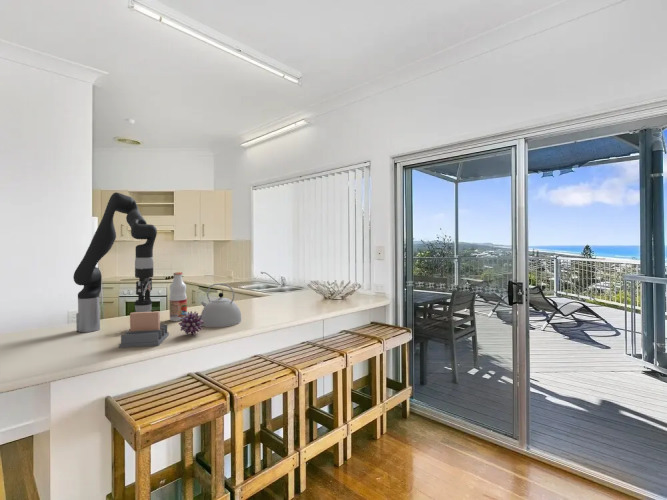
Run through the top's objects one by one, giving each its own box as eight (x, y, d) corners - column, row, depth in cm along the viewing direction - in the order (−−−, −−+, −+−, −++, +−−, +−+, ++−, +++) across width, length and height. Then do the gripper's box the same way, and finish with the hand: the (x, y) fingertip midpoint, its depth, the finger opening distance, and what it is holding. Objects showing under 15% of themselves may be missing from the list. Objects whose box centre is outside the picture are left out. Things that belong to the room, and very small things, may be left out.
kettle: (187, 325, 189) (187, 285, 188) (212, 316, 210) (212, 280, 210) (227, 328, 182) (226, 286, 181) (248, 319, 204) (248, 281, 203)
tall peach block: (130, 339, 156) (129, 313, 156) (132, 337, 159) (131, 312, 158) (158, 337, 159) (158, 312, 159) (160, 336, 161) (159, 311, 161)
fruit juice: (170, 318, 205) (169, 272, 204) (187, 317, 208) (186, 271, 207) (168, 321, 196) (168, 273, 195) (186, 320, 199) (186, 273, 198)
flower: (190, 330, 177) (189, 308, 177) (209, 332, 173) (209, 309, 173) (173, 336, 166) (173, 312, 166) (193, 338, 162) (193, 314, 162)
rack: (119, 347, 149) (119, 335, 149) (133, 336, 165) (133, 325, 165) (158, 345, 152) (158, 333, 152) (168, 335, 169) (168, 324, 169)
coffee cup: (155, 325, 187) (155, 298, 187) (146, 329, 179) (145, 301, 178) (141, 325, 188) (141, 298, 187) (131, 329, 180) (130, 301, 179)
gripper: (140, 266, 164) (140, 299, 164) (129, 268, 150) (129, 304, 150) (157, 265, 165) (157, 299, 166) (148, 268, 151) (148, 304, 152)
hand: (144, 301), depth 158 cm, fingers open, 8 cm apart
